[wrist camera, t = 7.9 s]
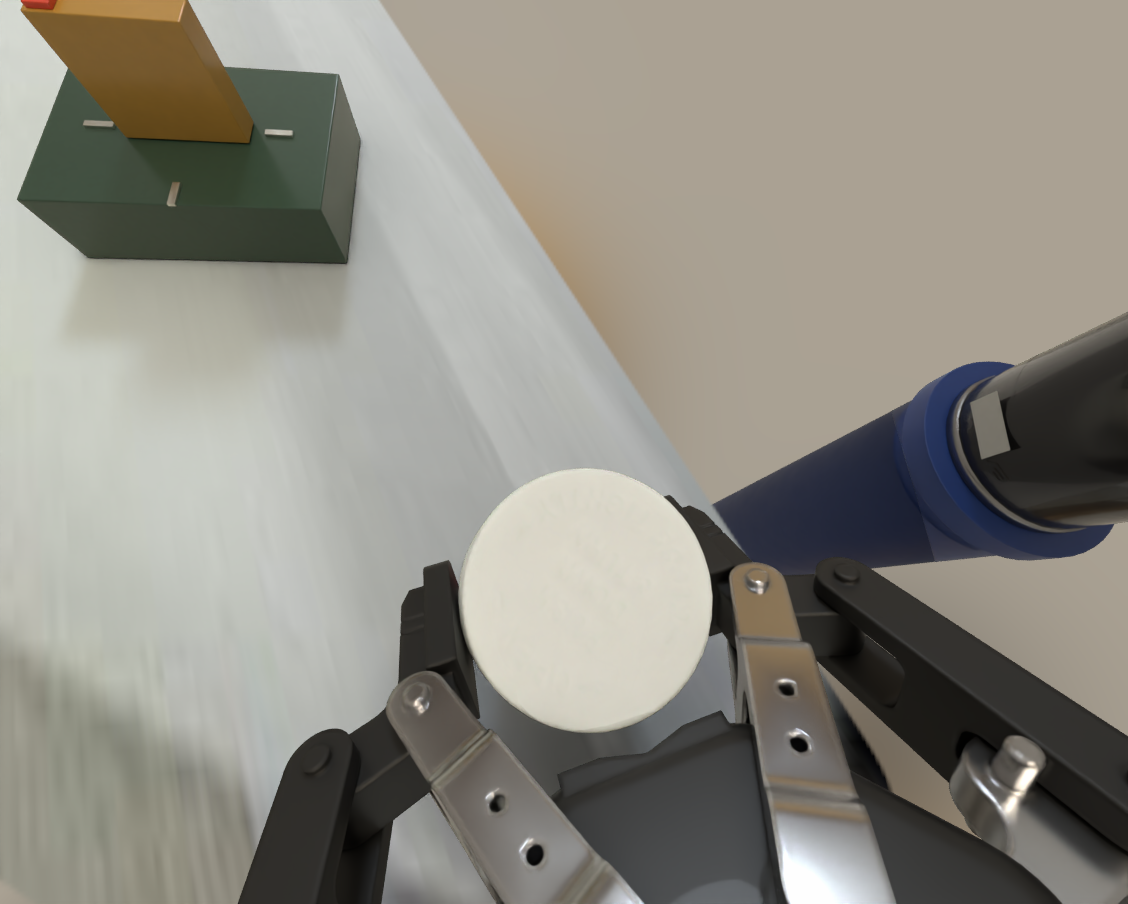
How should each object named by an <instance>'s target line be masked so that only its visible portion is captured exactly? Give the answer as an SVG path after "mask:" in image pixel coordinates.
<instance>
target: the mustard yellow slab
mask: <svg viewBox="0 0 1128 904" xmlns="http://www.w3.org/2000/svg"><path fill="white" fill-rule="evenodd" d="M21 2H22V3H23V6H22V8H21V12H22V13H23V14H24V15H25V17H26V18H27V19H28V20H29V21H30V23H31V24H32V25H33V26H34V27H35V29H36V30H37V31H38V32H39V33H40V35H41V36H42V37H43V38H44V39H45V41H46V42H47V43H48V44H49V45H50V47H51V48H52V49H53V50H54V51H55V53H56V54H57V55H58V56H59V57H60V59H61V60H62V61H63V62H64V63H65V65H66V66H67V67H68V68H69V69H70V71H71V72H72V73H73V74H74V75H75V77H76V78H77V79H78V80H79V81H80V83H81V84H82V85H83V86H84V87H85V89H86V90H87V91H88V92H89V93H90V95H91V96H92V97H93V98H94V99H95V101H96V102H97V103H98V104H99V105H100V107H101V108H102V109H103V110H104V111H105V113H106V114H107V115H108V116H109V117H110V119H111V120H112V121H113V122H114V123H115V125H116V126H117V127H118V128H119V129H120V131H121V132H122V133H123V134H124V135H125V137H127V138H147V139H168V140H189V141H210V142H231V143H249V142H250V137H251V132H252V127H253V120H252V118H251V116H250V114H249V112H248V110H247V109H246V107H245V105H244V103H243V101H242V99H241V98H240V96H239V94H238V92H237V90H236V88H235V86H234V85H233V83H232V81H231V79H230V77H229V75H228V74H227V72H226V70H225V68H224V66H223V64H222V63H221V61H220V59H219V57H218V55H217V53H216V51H215V50H214V48H213V46H212V44H211V42H210V40H209V39H208V37H207V35H206V33H205V31H204V29H203V27H202V26H201V24H200V22H199V20H198V18H197V16H196V15H195V13H194V11H193V9H192V7H191V5H190V3H189V2H188V0H21Z"/></svg>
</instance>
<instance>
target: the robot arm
mask: <svg viewBox="0 0 1128 904" xmlns="http://www.w3.org/2000/svg"><path fill="white" fill-rule="evenodd" d="M946 435H947V443H948V448H949V451H950V455H951V457H952V460H953V463H954V465H955V467H956V469H957V471H958V473H959V475H960V476H961V478H962V479H963V481H964V482H965V484H966V485H967V487H968V488H969V489H970V491H971V492H972V493H973V494H974V495H975V496H976V497H977V499H979V500H980V501H981V502H982V503H983V504H984V505H985V506H986V507H987V508H988V509H990V510H991V511H992V512H993V513H995V514H996V515H998V516H999V517H1001V518H1002V519H1004V520H1006V521H1007V522H1009V523H1011V524H1013V525H1015V526H1018V527H1020V528H1023V529H1026V530H1029V531H1033V532H1037V533H1045V534H1057V533H1065V532H1073V531H1078V530H1082V529H1085V528H1088V527H1094V526H1102V525H1109V524H1116V523H1123V522H1128V312H1126V313H1124V314H1122V315H1120V316H1118V317H1116V318H1114V319H1112V320H1110V321H1108V322H1106V323H1103V324H1101V325H1099V326H1097V327H1095V328H1093V329H1091V330H1089V331H1087V332H1085V333H1083V334H1081V335H1079V336H1076V337H1074V338H1072V339H1070V340H1068V341H1066V342H1064V343H1062V344H1060V345H1058V346H1056V347H1054V348H1052V349H1049V350H1048V351H1046V352H1043V353H1041V354H1038V355H1036V356H1035V357H1032V358H1030V359H1028V360H1026V361H1024V362H1022V363H1020V364H1018V365H1016V366H1014V367H1012V368H1010V369H1008V370H1006V371H1003V372H1001V373H999V374H997V375H994V376H991V377H987V378H985V379H983V380H980V381H978V382H976V383H974V384H972V385H970V386H969V387H967V388H966V389H964V390H963V391H962V392H961V393H960V394H959V395H958V396H957V397H956V399H955V400H954V401H953V403H952V405H951V407H950V410H949V413H948V417H947V423H946ZM664 498H665V499H667V500H668V501H669V502H670V503H671V504H672V505H673V506H674V507H675V508H676V509H677V511H678V512H679V513H680V514H681V515H682V516H683V518H684V519H685V520H686V522H687V523H688V524H689V526H690V528H691V529H692V531H693V532H694V534H695V536H696V538H697V540H698V542H699V544H700V547H701V549H702V551H703V554H704V557H705V560H706V563H707V566H708V570H709V574H710V580H711V589H712V595H713V599H712V619H711V625H710V630H709V636H712V635H715V634H718V633H721V632H722V633H723V634H724V635H725V637H726V638H727V650H728V658H729V667H730V675H731V683H732V691H733V699H734V708H735V723H729V722H728V721H727V719H726V717H725V716H724V714H723V712H722V711H718V712H716V713H713V714H710V715H708V716H705V717H703V718H700V719H698V720H695V721H693V722H690V723H687V724H685V725H683V726H681V727H680V728H679V729H677V730H676V731H675V732H674V733H672V734H671V735H670V736H668V737H667V738H666V739H665V740H663V741H662V742H661V743H659V744H658V745H657V746H656V747H654V748H653V749H652V750H650V751H649V752H647V753H643V754H635V755H624V756H614V757H604V758H598V759H596V760H593V761H590V762H588V763H585V764H583V765H580V766H578V767H575V768H573V769H570V770H567V771H565V772H562V773H560V774H557V776H558V779H559V783H560V787H561V789H560V790H559V791H557V792H556V793H555V794H554V795H552V796H551V797H549V796H548V795H547V794H546V792H545V791H544V790H543V789H542V788H541V786H540V785H539V784H538V783H537V782H536V780H535V779H534V778H533V777H532V776H531V775H530V773H529V772H528V771H527V770H526V769H525V767H524V766H523V765H522V764H521V763H520V761H519V760H518V759H517V758H516V757H515V755H514V754H513V753H512V752H511V751H510V749H509V748H508V747H507V746H506V745H505V743H504V742H503V741H502V740H501V739H500V738H499V736H498V735H497V734H496V733H495V732H494V731H493V730H491V729H488V730H486V729H485V728H484V727H483V726H482V725H481V723H480V722H479V721H478V720H477V719H479V718H480V713H479V705H478V697H477V689H476V681H475V674H474V666H473V658H472V656H471V654H470V652H469V649H468V647H467V645H466V642H465V639H464V636H463V632H462V628H461V623H460V615H459V604H458V590H459V586H458V583H457V580H456V577H455V574H454V572H453V569H452V566H451V563H450V561H449V560H447V561H444V562H441V563H437V564H434V565H431V566H427V567H424V569H423V578H424V586H422V587H419V588H416V589H412V590H409V592H408V594H407V596H406V598H405V600H404V602H403V604H402V606H401V631H400V633H401V636H400V656H399V680H398V685H397V686H396V687H395V689H394V690H393V691H392V693H391V695H390V696H389V699H388V701H387V705H386V708H385V709H384V710H383V711H382V712H381V713H380V714H379V715H377V716H376V717H375V718H373V719H372V720H371V721H369V722H368V723H366V724H365V725H363V726H361V727H360V728H358V729H357V730H355V731H354V732H352V733H351V734H348V733H347V732H345V731H343V730H341V729H328V730H324V731H321V732H319V733H317V734H315V735H314V736H312V737H310V738H309V739H308V740H306V741H305V742H304V743H303V744H302V745H301V746H300V747H299V748H298V749H297V750H296V751H295V752H294V754H293V755H292V757H291V758H290V760H289V761H288V763H287V765H286V768H285V770H284V773H283V776H282V779H281V781H280V784H279V787H278V790H277V793H276V796H275V799H274V801H273V804H272V807H271V810H270V813H269V816H268V819H267V821H266V824H265V827H264V830H263V833H262V836H261V839H260V841H259V844H258V847H257V850H256V853H255V856H254V859H253V862H252V864H251V867H250V870H249V873H248V876H247V879H246V882H245V884H244V887H243V890H242V893H241V896H240V899H239V902H238V904H381V902H382V895H383V888H384V881H385V874H386V867H387V860H388V853H389V846H390V839H391V832H392V825H393V820H394V819H395V818H396V817H398V816H399V815H400V814H402V813H403V812H404V811H406V810H407V809H408V808H409V807H411V806H412V805H413V804H415V803H416V802H417V801H419V800H420V799H421V798H422V797H424V796H425V795H426V794H428V793H430V795H431V796H432V798H433V800H434V801H435V803H436V804H437V806H438V808H439V809H440V811H441V813H442V814H443V816H444V817H445V819H446V821H447V822H448V824H449V826H450V827H451V829H452V830H453V832H454V834H455V835H456V837H457V839H458V840H459V842H460V843H461V845H462V847H463V848H464V850H465V852H466V853H467V855H468V857H469V858H470V860H471V862H472V864H473V865H474V867H475V869H476V870H477V872H478V874H479V876H480V877H481V879H482V881H483V882H484V884H485V885H486V887H487V889H488V890H489V892H490V894H491V895H492V897H493V899H494V900H495V902H496V903H497V904H1128V736H1127V735H1125V734H1124V733H1122V732H1120V731H1119V730H1117V729H1116V728H1114V727H1113V726H1111V725H1110V724H1108V723H1107V722H1105V721H1104V720H1102V719H1100V718H1099V717H1097V716H1096V715H1094V714H1093V713H1091V712H1090V711H1088V710H1087V709H1085V708H1084V707H1082V706H1081V705H1079V704H1077V703H1076V702H1074V701H1073V700H1071V699H1070V698H1068V697H1067V696H1065V695H1064V694H1062V693H1060V692H1059V691H1058V690H1056V689H1054V688H1053V687H1051V686H1050V685H1048V684H1046V683H1045V682H1044V681H1042V680H1041V679H1039V678H1038V677H1036V676H1034V675H1033V674H1031V673H1030V672H1028V671H1027V670H1025V669H1024V668H1022V667H1021V666H1019V665H1018V664H1016V663H1015V662H1013V661H1011V660H1010V659H1008V658H1007V657H1005V656H1004V655H1002V654H1001V653H999V652H998V651H996V650H994V649H993V648H991V647H990V646H988V645H987V644H985V643H984V642H982V641H981V640H979V639H977V638H976V637H975V636H973V635H972V634H970V633H968V632H967V631H965V630H963V629H962V628H961V627H959V626H958V625H956V624H955V623H953V622H952V621H950V620H948V619H947V618H945V617H944V616H942V615H941V614H939V613H938V612H936V611H935V610H933V609H931V608H930V607H928V606H927V605H925V604H924V603H922V602H921V601H919V600H918V599H916V598H914V597H913V596H911V595H910V594H909V593H907V592H905V591H904V590H902V589H901V588H899V587H898V586H896V585H895V584H893V583H892V582H890V581H889V580H887V579H885V578H884V577H882V576H881V575H879V574H878V573H876V572H875V571H873V570H872V569H870V568H869V567H867V566H866V565H864V564H862V563H860V562H858V561H855V560H852V559H848V558H842V557H833V558H827V559H825V560H822V561H821V562H820V563H819V564H818V565H817V567H816V571H815V574H809V575H782V574H781V573H780V572H779V571H777V570H776V569H774V568H773V567H771V566H768V565H766V564H762V563H755V562H752V561H751V560H750V559H749V558H748V557H747V556H746V555H745V554H744V553H743V552H742V551H741V550H740V549H739V548H738V547H737V545H736V544H735V543H734V542H733V541H732V540H731V539H730V538H729V537H728V536H727V535H726V534H725V533H723V532H722V530H721V529H720V528H719V527H718V526H717V525H715V524H714V522H713V521H712V520H711V519H710V518H709V517H708V516H707V515H706V514H705V513H704V512H702V511H700V510H698V509H696V508H694V507H692V506H687V507H684V508H682V507H681V506H680V505H679V504H678V503H677V502H676V500H675V499H674V498H673V497H672V496H670V495H668V496H664ZM866 635H867V636H866ZM868 636H869V637H870V638H871V639H873V640H874V641H875V642H876V643H875V642H874V641H873V640H871V639H870V638H869V637H868ZM877 643H878V644H879V645H880V646H882V647H883V648H884V649H885V650H887V651H888V652H889V653H890V654H889V653H888V652H887V651H885V650H884V649H883V648H882V647H880V646H879V645H878V644H877ZM891 654H892V655H893V656H894V657H895V658H894V657H893V656H892V655H891ZM816 660H817V661H818V662H819V663H820V664H821V665H822V666H823V667H824V668H825V669H826V670H827V671H828V672H830V673H831V674H832V675H833V676H834V677H835V678H836V679H837V680H838V681H839V682H840V683H842V684H843V685H844V686H845V687H846V688H847V689H848V690H849V691H850V692H851V693H852V694H853V695H854V696H856V697H857V698H858V699H859V700H860V701H861V702H862V703H863V704H864V705H865V706H866V707H868V708H869V709H870V710H871V711H872V712H873V713H874V714H875V715H876V716H877V717H878V718H879V719H881V720H882V721H883V722H884V723H885V724H886V725H887V726H888V727H889V728H890V729H891V730H892V731H894V732H895V733H896V734H897V735H898V736H899V737H900V738H901V739H902V740H903V741H904V742H906V743H907V744H908V745H909V746H910V747H911V748H912V749H913V750H914V751H915V752H916V753H917V754H918V755H920V756H921V757H922V758H923V759H924V760H925V761H926V762H927V763H928V764H929V765H930V766H931V767H932V768H934V769H935V770H936V771H937V772H938V773H939V774H940V775H941V776H942V777H943V778H944V779H945V780H947V781H948V782H949V789H950V793H951V796H952V799H953V801H954V803H955V805H956V806H957V808H958V809H959V811H960V812H961V813H962V815H963V816H964V817H965V821H966V823H967V825H968V827H969V828H970V829H971V831H972V832H973V833H974V834H976V835H977V836H978V837H980V838H981V839H982V840H981V839H979V838H977V837H975V836H973V835H972V834H969V833H968V832H966V831H964V830H962V829H960V828H958V827H956V826H954V825H952V824H951V823H949V822H947V821H945V820H943V819H941V818H939V817H937V816H935V815H934V814H932V813H930V812H928V811H926V810H924V809H922V808H920V807H918V806H917V805H915V804H913V803H911V802H909V801H907V800H905V799H903V798H901V797H900V796H898V795H896V794H894V793H892V792H890V791H888V790H886V789H884V788H883V787H881V786H879V785H877V784H875V783H873V782H871V781H869V780H867V779H865V778H864V777H862V776H860V775H858V774H856V773H854V772H852V771H850V770H849V767H848V764H847V760H846V757H845V754H844V750H843V747H842V744H841V740H840V737H839V734H838V731H837V727H836V724H835V721H834V717H833V714H832V711H831V707H830V704H829V701H828V697H827V694H826V691H825V688H824V684H823V681H822V678H821V674H820V671H819V668H818V664H817V661H816Z"/></svg>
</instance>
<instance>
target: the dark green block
mask: <svg viewBox="0 0 1128 904" xmlns="http://www.w3.org/2000/svg"><path fill="white" fill-rule="evenodd" d="M224 68H225V70H226V72H227V74H228V75H229V77H230V79H231V81H232V83H233V85H234V86H235V88H236V90H237V92H238V94H239V96H240V98H241V99H242V101H243V103H244V105H245V107H246V109H247V110H248V112H249V114H250V116H251V118H252V120H253V127H252V132H251V137H250V142H249V143H231V142H210V141H189V140H168V139H147V138H127V137H125V135H124V134H123V133H122V132H121V131H120V129H119V128H118V127H117V126H116V125H115V123H114V122H113V121H112V120H111V119H110V117H109V116H108V115H107V114H106V113H105V111H104V110H103V109H102V108H101V107H100V105H99V104H98V103H97V102H96V101H95V99H94V98H93V97H92V96H91V95H90V93H89V92H88V91H87V90H86V89H85V87H84V86H83V85H82V84H81V83H80V81H79V80H78V79H77V78H76V77H75V75H74V74H73V73H72V72H71V71H70V69H69V68H68V70H67V72H66V75H65V77H64V80H63V82H62V85H61V87H60V90H59V93H58V95H57V98H56V100H55V103H54V105H53V108H52V111H51V113H50V116H49V118H48V121H47V123H46V126H45V128H44V131H43V134H42V136H41V139H40V141H39V144H38V146H37V149H36V151H35V154H34V157H33V159H32V162H31V164H30V167H29V169H28V172H27V175H26V177H25V180H24V182H23V185H22V187H21V190H20V192H19V195H18V198H17V200H18V201H19V202H20V203H21V204H23V205H24V206H25V207H26V208H28V209H29V210H30V211H31V212H32V213H34V214H35V215H36V216H37V217H39V218H40V219H41V220H42V221H44V222H45V223H46V224H47V225H48V226H50V227H51V228H52V229H53V230H55V231H56V232H57V233H58V234H59V235H61V236H62V237H63V238H64V239H66V240H67V241H68V242H69V243H71V244H72V245H73V246H74V247H75V248H77V249H78V250H79V251H80V252H82V253H83V254H84V255H85V256H87V257H93V258H139V259H185V260H231V261H277V262H323V263H347V256H348V247H349V238H350V228H351V219H352V210H353V201H354V191H355V182H356V173H357V164H358V154H359V145H360V136H359V133H358V130H357V127H356V124H355V121H354V118H353V115H352V112H351V109H350V106H349V103H348V100H347V97H346V94H345V91H344V88H343V85H342V82H341V79H340V76H339V74H329V73H313V72H297V71H282V70H266V69H250V68H234V67H224Z"/></svg>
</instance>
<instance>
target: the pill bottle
mask: <svg viewBox="0 0 1128 904" xmlns="http://www.w3.org/2000/svg"><path fill="white" fill-rule="evenodd" d="M712 599H713V595H712V589H711V580H710V574H709V570H708V566H707V563H706V560H705V557H704V554H703V551H702V549H701V547H700V544H699V542H698V540H697V538H696V536H695V534H694V532H693V531H692V529H691V528H690V526H689V524H688V523H687V522H686V520H685V519H684V518H683V516H682V515H681V514H680V513H679V512H678V511H677V509H676V508H675V507H674V506H673V505H672V504H671V503H670V502H669V501H668V500H667V499H665V498H664V497H663V496H662V495H661V494H659V493H657V492H656V491H655V490H653V489H652V488H650V487H649V486H647V485H645V484H643V483H642V482H640V481H638V480H636V479H633V478H631V477H628V476H626V475H623V474H620V473H617V472H612V471H609V470H602V469H592V468H577V469H569V470H563V471H558V472H554V473H550V474H547V475H544V476H542V477H539V478H537V479H535V480H533V481H530V482H529V483H527V484H525V485H524V486H522V487H520V488H519V489H517V490H515V491H514V492H513V493H512V494H510V495H509V496H508V497H507V498H505V500H503V501H502V502H501V503H500V504H499V505H498V506H497V507H496V508H495V510H494V511H493V512H492V513H491V514H490V516H489V517H488V518H487V520H486V521H485V522H484V524H483V525H482V527H481V528H480V529H479V531H478V532H477V534H476V536H475V537H474V539H473V541H472V543H471V545H470V547H469V549H468V551H467V554H466V556H465V559H464V562H463V566H462V570H461V575H460V581H459V590H458V604H459V615H460V623H461V628H462V632H463V636H464V639H465V642H466V645H467V647H468V649H469V652H470V654H471V656H472V658H473V659H474V661H475V663H476V664H477V666H478V668H479V669H480V671H481V672H482V674H483V675H484V676H485V677H486V679H487V680H488V681H489V682H490V683H491V685H492V686H493V688H494V689H495V690H496V691H497V692H498V693H499V694H500V695H501V696H502V697H503V698H504V699H505V700H506V701H507V702H509V703H510V704H511V705H512V706H513V707H515V708H516V709H517V710H519V711H520V712H522V713H523V714H525V715H526V716H528V717H530V718H532V719H534V720H536V721H538V722H540V723H542V724H545V725H548V726H550V727H554V728H557V729H561V730H566V731H571V732H579V733H600V732H609V731H613V730H617V729H621V728H624V727H628V726H631V725H633V724H636V723H638V722H640V721H642V720H644V719H646V718H648V717H650V716H651V715H653V714H654V713H656V712H657V711H659V710H660V709H661V708H663V707H664V706H665V705H666V704H667V703H669V702H670V701H671V700H672V699H673V698H674V697H675V696H676V695H677V694H678V693H679V692H680V691H681V689H682V688H683V687H684V686H685V684H686V683H687V681H688V680H689V679H690V677H691V676H692V674H693V673H694V671H695V669H696V667H697V665H698V663H699V661H700V659H701V657H702V655H703V652H704V650H705V647H706V643H707V640H708V636H709V630H710V625H711V619H712Z"/></svg>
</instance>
